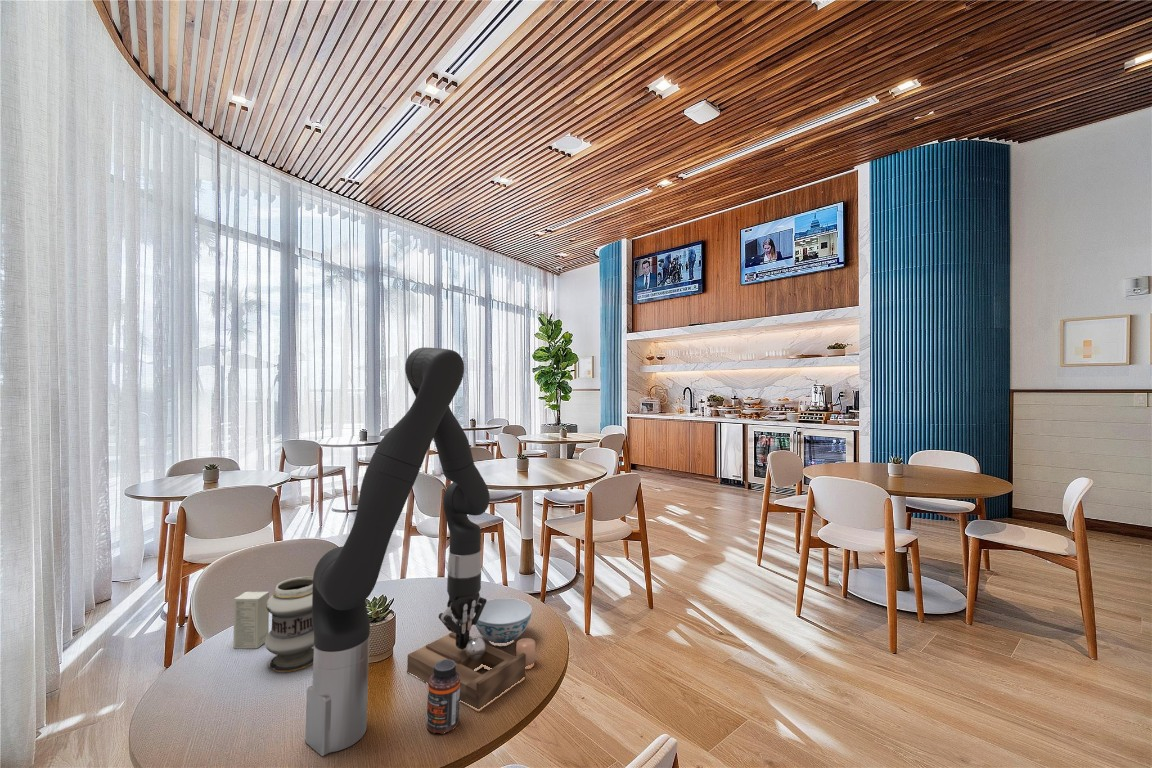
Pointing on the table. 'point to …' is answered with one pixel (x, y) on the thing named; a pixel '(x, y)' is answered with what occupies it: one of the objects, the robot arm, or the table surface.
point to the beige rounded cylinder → (526, 649)
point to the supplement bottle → (443, 697)
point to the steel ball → (475, 648)
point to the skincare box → (250, 619)
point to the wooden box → (470, 669)
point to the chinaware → (503, 619)
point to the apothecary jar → (291, 625)
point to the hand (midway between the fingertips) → (462, 647)
